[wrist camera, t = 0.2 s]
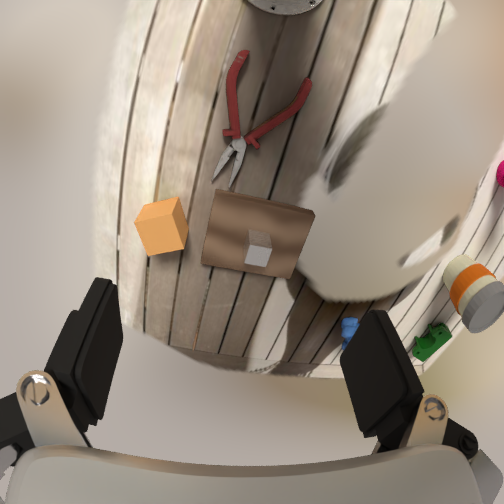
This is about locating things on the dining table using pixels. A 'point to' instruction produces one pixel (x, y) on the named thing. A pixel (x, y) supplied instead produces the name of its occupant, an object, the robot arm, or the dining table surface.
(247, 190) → the dining table surface
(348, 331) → the blue knobbed flower
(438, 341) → the clamp
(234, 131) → the pliers
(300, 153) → the dining table surface
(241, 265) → the board
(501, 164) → the pepper mill
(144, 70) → the dining table surface
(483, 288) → the reusable coffee cup
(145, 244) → the matte orange cube
